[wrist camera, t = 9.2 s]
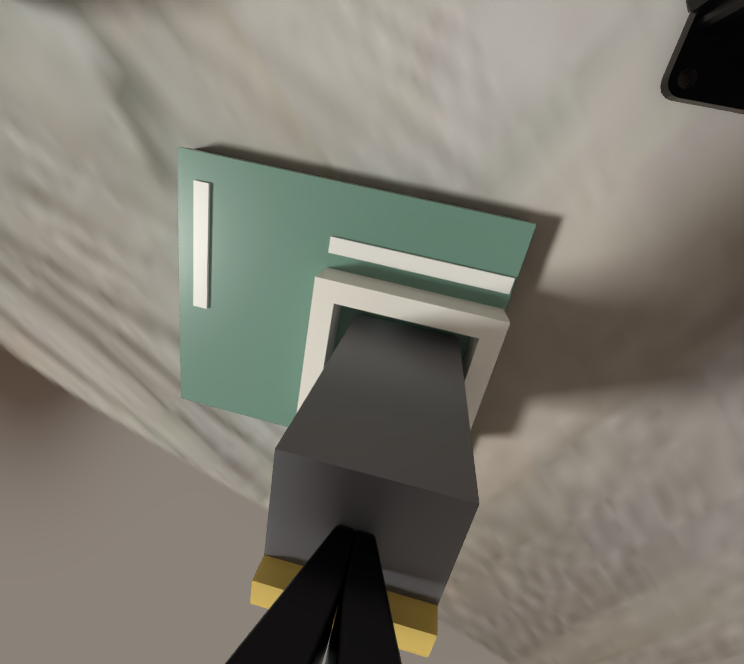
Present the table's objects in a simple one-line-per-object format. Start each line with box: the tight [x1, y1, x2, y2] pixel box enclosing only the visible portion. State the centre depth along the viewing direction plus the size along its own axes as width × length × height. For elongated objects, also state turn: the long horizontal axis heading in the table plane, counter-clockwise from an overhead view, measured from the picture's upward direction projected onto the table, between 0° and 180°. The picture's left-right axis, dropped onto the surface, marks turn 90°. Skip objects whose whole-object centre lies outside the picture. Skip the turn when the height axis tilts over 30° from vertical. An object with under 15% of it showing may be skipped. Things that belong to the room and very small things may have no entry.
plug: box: [250, 314, 479, 657], centre depth 11 cm, size 4×4×9 cm
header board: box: [177, 147, 537, 431], centre depth 15 cm, size 13×11×2 cm
